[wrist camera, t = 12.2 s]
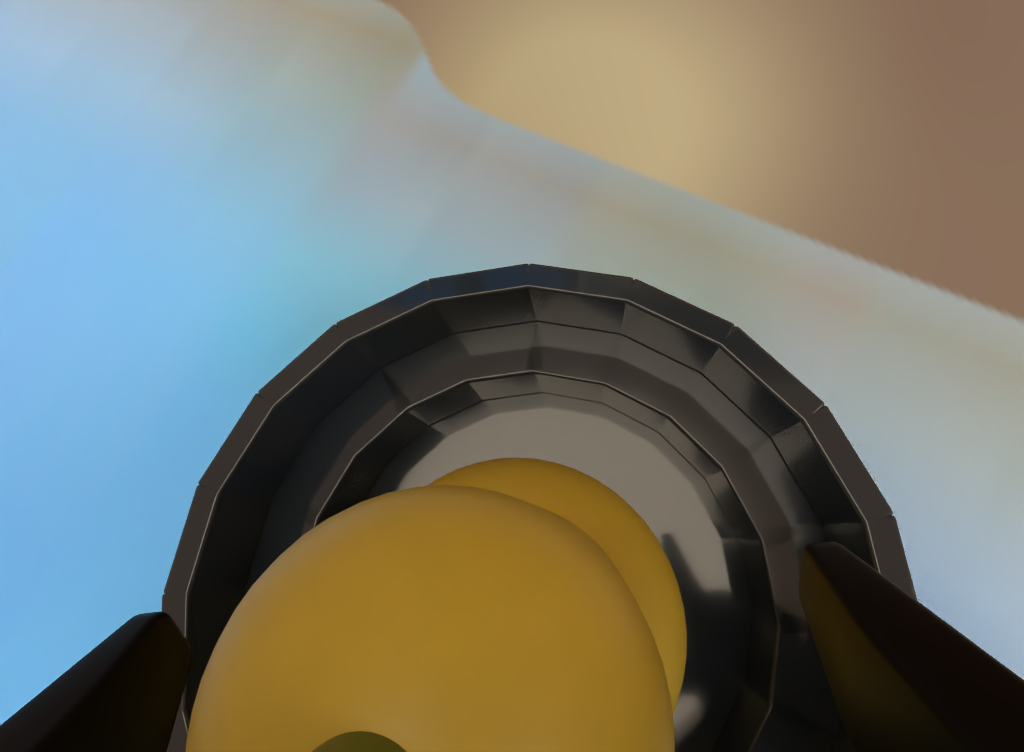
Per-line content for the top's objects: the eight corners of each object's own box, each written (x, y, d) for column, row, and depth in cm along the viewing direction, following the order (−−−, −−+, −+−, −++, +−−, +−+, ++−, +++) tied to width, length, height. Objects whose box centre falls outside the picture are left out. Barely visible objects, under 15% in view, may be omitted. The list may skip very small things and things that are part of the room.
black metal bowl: (892, 899, 14) (1050, 1094, 9) (282, 929, 15) (140, 1110, 11) (756, 301, 18) (817, 217, 13) (277, 370, 19) (172, 318, 14)
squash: (630, 778, 15) (842, 2218, 2) (382, 689, 16) (-396, 1283, 3) (686, 511, 16) (1021, 446, 4) (453, 448, 17) (81, 235, 5)
